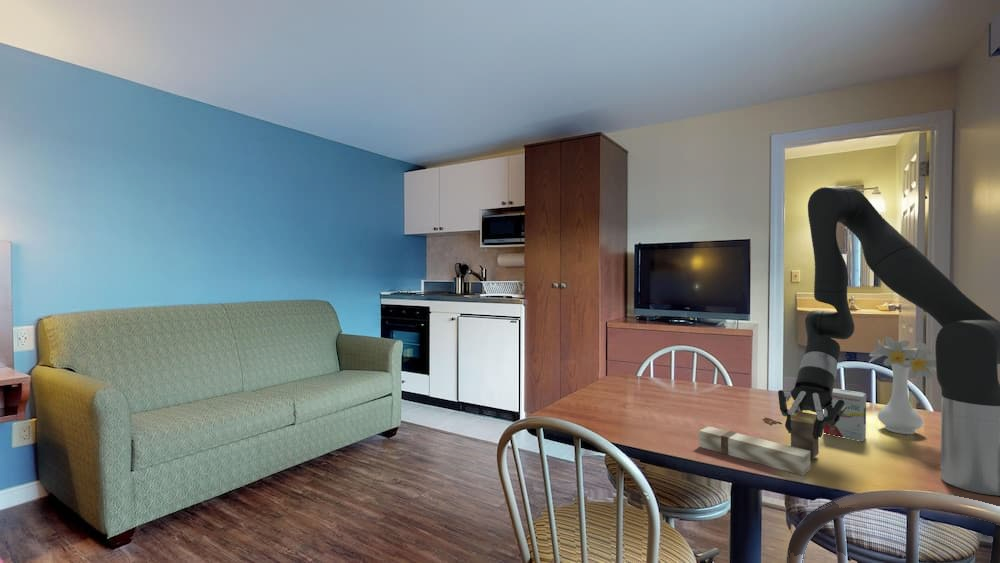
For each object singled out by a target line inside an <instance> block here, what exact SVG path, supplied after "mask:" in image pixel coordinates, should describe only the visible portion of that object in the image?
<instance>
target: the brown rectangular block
mask: <svg viewBox="0 0 1000 563" xmlns="http://www.w3.org/2000/svg"><path fill="white" fill-rule="evenodd" d="M816 420H817V414H816V413H809V412H806V411H805V412H804V411H802V412H800V411H796V412H794V413H792V414H791V433H790V446H792V447H796V448H800V449H804V450H809V451H810V459H815V458H816V457H817V456H818V455H819V452H820V451H819V449H820V448H819V447H820V446H819V445H820V444H819V442H820V440H819V438H820V437H818V439H814V437H813V430H814V425H815V421H816Z"/></svg>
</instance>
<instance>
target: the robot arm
mask: <svg viewBox="0 0 1000 563" xmlns="http://www.w3.org/2000/svg"><path fill="white" fill-rule="evenodd" d="M807 216H808V222H809V229H810V237H811V242H812V249H813V255H814V256H813V257H814V284H813V285H814V286H813V288H814V289H813V290H814V291H813V297H814V300H815V301H817V302H819V303H823V304H827V305H829V306H832V307H833V308H834V309H835V310H836V311H829V310H827V311H826V310H812V311H810V312H809V313H807V315H806V316H805V320H804V324H805V330H806V331H805V332H806V338H807V341H806V347H805V351H804V355H803V358H802V359H801V362H800V365H799V368H798V372H797V376H796V380H795V383H794V387H793V388H792V390H791V391H784V390H782V389H780V390H778V391H777V394H778V403H779V404H778V405H779V410H780V413H781V415H782V417H786V420H785V424H784V426H785V429H786V431H787V433H788V434H791V414H792V413H794V412H796V411H800V412H804V411H805V412H806V411H810V412H813V413H815V414H816V415H817V420H816V421H815V425H814V430H813V437H814V439H818V437H819V438H822V437H823V435H824V434H823V431H824V426H825V425H831V426H834V425H835V424H836V423H837V421H838V420H839V418H840V417H841V415H842V414H843V412H844V411H845V409H846V406H845V403H844V401H843V400H835V399H833V398H832V392H833V388H835V387H834V386H835V381H836V379H837V376H838V375H837V372H838V362H839V358H840V354H841V346H840V343H839V342H838V341H836V340H848V339H849V338H851V337H852V336H853V334H854V333H855V323H854V319H853V316H852V313H851V310H850V306H849V300H848V278H849V276H848V275H849V273H848V267H847V264H846V261H845V258H844V256H843V254H842V252H841V248H840V247H839V243H838V239H837V228H838V227H837V226H838V223H839V224H842V225H843V226H844V227H846V228H847V229H848V230H849V231H850V232H851V233H852V234H853V235H854V236H855V237H856V238H857V240H859V242H860V245H861V248H862V253H863V256H864V260H865V263H866V264H867V267H868V268H869V269H870V270H871V272H873V273H874V274H875V276H876V277H877V278H879V280H880V281H881V282H882V283H883V284H884V285H885V286H886V287H887V288H889V289H890V290H891V291H892V292H894V293H895V294H896V295H898V296H900V297H901V298H903V299H904V300H906V301H908V302H910V303H912V304H913V305H915V306H916V307H918V308H920V309H921V310H923V311H924V312H926V314H928V315H930V316H931V317H932V318H933V319H934V320H935V321H936V322H937V323H938V324H939V325H940V326H941V329H940V330H939V331H938V333H937V336H936V339H935V357H936V366H935V367H936V370H935V372H936V378H937V382H938V384H939V386H940V389H941V408H940V409H941V422H940V425H941V426H940V427H941V430H940V435H941V436H940V479H941V480H942V481H943V482H944V483H946V484H949V485H951V486H953V487H955V488H958V489H961V490H965V491H968V492H972V493H977V494H983V495H989V496H1000V381H999V375H998V374H999V373H998V365H999V364H1000V321H999V320H998V319H996V317H993V315H991V314H990V313H988V312H987V311H985V310H984V309H983V308H981V307H980V306H979V305H977V304H976V303H975V302H974V301H972V300H971V299H970V298H969V297H968V296H966V295H965V293H963V292H962V291H961V290H960V289H959V288H958V287H957V286H956V285H955V284H954V282H952V281H951V280H950V279H949V278H948V277H947V276H946V275H945V274H944V273H943V272H941V270H940V269H939V268H937V266H936V265H934V263H932V262H931V261H930V259H928V257H926V255H924V254H923V253H922V252H921V251H920V250H919V249H918V248H917V247H916V246H914V244H912V243H911V242H910V241H909V240H907V238H905V237H904V236H903V235H902V234H901V232H899V231H898V230H897V229H896V228H894V227H893V226H892V225H891V224H890V223H889V222H888V221H887V220H886V219H885V218H884V217H883V216H882V215H881V214H880V212H879V211H877V209H876V207H874V205H873V204H872V203H871V202H870V200H869V199H868V198H867V197H866V196H865V195H864V193H862V192H861V191H860V190H859V189H858V188H855V187H852V186H848V185H847V186H845V185H843V186H839V185H837V186H824V187H819V188H818V189H816V190H815V191H813V192H812V193H811V195H810V196H809V198H808V202H807ZM791 398H792V399H793V402H792V404H791V407H790V408H789V409H788V406H787V405H788V404H787V403H788V402H789V401H790V399H791ZM831 404H833V405H832V406H833V409H832V410H831V412H830V413H829V415H828V416H827V417H824V409H825V408H826V407H828V406H829V405H831Z"/></svg>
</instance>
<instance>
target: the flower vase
mask: <svg viewBox="0 0 1000 563" xmlns="http://www.w3.org/2000/svg"><path fill="white" fill-rule="evenodd" d="M885 342H886V345H885V344H884V343H885ZM885 342H884V339H882V340H881V341H880V339H878V340H877V343H876V349H874V350H872V351H871V352H870V353H869V357H871V359H870V360H869V361H868V364H870V363H871V362H873V361H876V360H877V359H879V358H881V357H883V356H884V357H887V358H885V359H884V360H883V365H884V366H887V367H889V366H890V367H891V369H892V374H893V375H892V391H891V392H892V393H891V397H890V399H889V401H888V403H887V404H886V405H884V406H883V407H882V408H880V409H879V411H878V413H877V419H878V420H879V421H880V423H882V424H883V425H884V428H885V430H886V431H888V432H891V433H892V432H893V433H895V434H902V435H914V434H916V430H919V429H921V428H922V426H924V420H923V417H922V416H921V414H920V413H919V412H917V410H916V409H914V407H913V405H912V403H911V402H910V401H911V400H910V398H909V390H908V388H909V387H908V386H909V385H908V379H911V380H912V379H915V378H916V377H917V376H918V375H919V373H920V374H921V375H922V376H923V377H925V378H927V379H929V380H930V379H933V378H934V373H933V372H932V370H934V371H936V355H933V354H932V350H931V349H930V348H927V345H926V343H924V342H923V343H922V342H921V341H918V342H917V346H916V348H908V347H909V346H910V343H911V342H910V340H907V339H906V340H902V341H895V340H894V339H893V338H891V337H889V336H886V337H885ZM907 348H908V349H907ZM930 368H931V369H932V370H931V369H930Z"/></svg>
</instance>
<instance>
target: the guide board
mask: <svg viewBox="0 0 1000 563" xmlns="http://www.w3.org/2000/svg"><path fill="white" fill-rule="evenodd" d="M698 431H699V433H698V434H699V435H698V436H699V437H698V438H699V440H698V442H699V444H698V445H699V447H700V448H703V449H707V450H709V451H714V452H717V453H721V454H723V455H727V456H731V457H734V458H738V459H742V460H745V461H749V462H753V463H756V464H760V465H764V466H766V467H771V468H774V469H777V470H782V471H784V470H785V472H789V473H792V474H795V475H799V476H802V477H804V476H805V475H806V474H807V473H808V472H809V471H810V470H811V458H810V451H809V450H804V449H800V448H796V447H792V446H791V445H787V444H784V443H779V442H775V441H772V440H771V441H770V440H767V439H763V438H758V437H755V436H750V435H746V434H743V433H737V432H735V431H731V430H726V429H720V428H717V427H713V426H708V425H707V426H705V427H704V428H702V429H700V430H698ZM809 469H810V470H809ZM808 470H809V471H808ZM806 472H807V473H806Z"/></svg>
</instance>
